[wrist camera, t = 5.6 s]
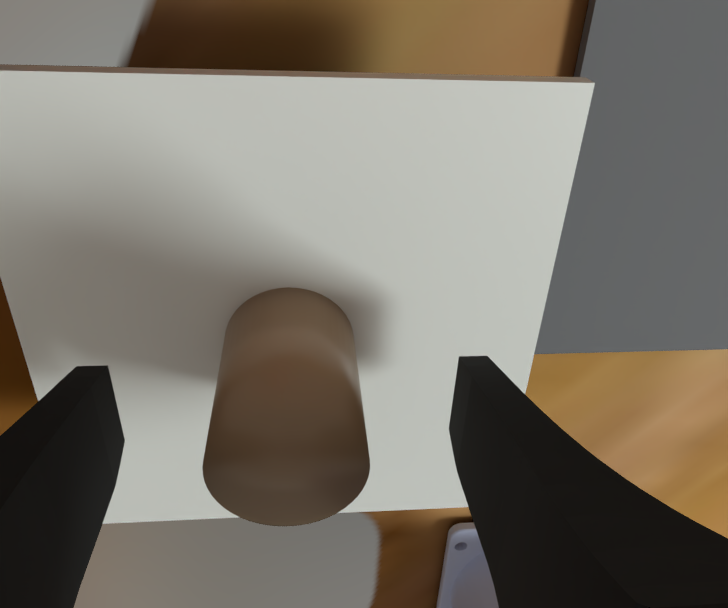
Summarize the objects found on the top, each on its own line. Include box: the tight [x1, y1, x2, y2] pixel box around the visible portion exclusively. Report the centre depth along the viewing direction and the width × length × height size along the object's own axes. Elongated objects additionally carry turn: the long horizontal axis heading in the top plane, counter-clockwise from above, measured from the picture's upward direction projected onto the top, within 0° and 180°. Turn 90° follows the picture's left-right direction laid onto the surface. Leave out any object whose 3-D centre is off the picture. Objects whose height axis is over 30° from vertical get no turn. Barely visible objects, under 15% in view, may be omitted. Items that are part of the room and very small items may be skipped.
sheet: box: [0, 65, 595, 526], centre depth 13 cm, size 12×12×4 cm
